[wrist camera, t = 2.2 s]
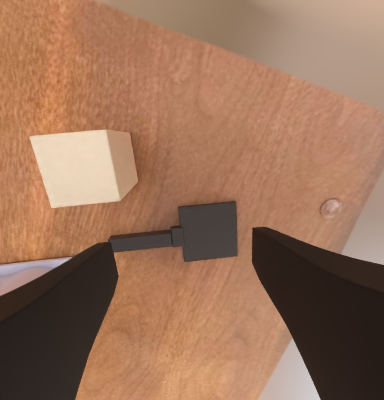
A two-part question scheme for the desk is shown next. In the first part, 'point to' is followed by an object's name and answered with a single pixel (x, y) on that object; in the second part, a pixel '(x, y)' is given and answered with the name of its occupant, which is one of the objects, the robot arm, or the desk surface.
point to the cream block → (85, 166)
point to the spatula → (191, 233)
